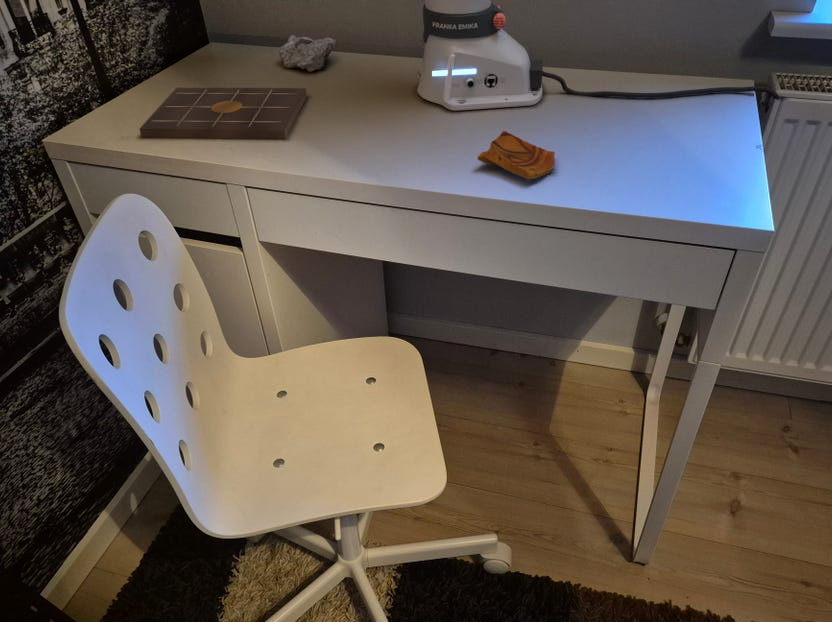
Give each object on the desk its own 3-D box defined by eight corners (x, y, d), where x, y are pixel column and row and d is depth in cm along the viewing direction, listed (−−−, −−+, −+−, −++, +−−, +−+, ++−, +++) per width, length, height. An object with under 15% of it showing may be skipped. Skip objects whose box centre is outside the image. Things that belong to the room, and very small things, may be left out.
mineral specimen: (317, 79, 128) (266, 66, 132) (347, 64, 136) (298, 51, 139) (316, 47, 124) (264, 34, 128) (347, 33, 132) (297, 21, 135)
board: (307, 96, 121) (305, 87, 120) (285, 139, 108) (283, 129, 107) (178, 95, 123) (176, 86, 122) (141, 137, 109) (138, 128, 108)
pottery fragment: (499, 128, 101) (562, 129, 97) (502, 156, 104) (564, 159, 100) (470, 156, 95) (537, 159, 90) (475, 186, 98) (539, 190, 93)
